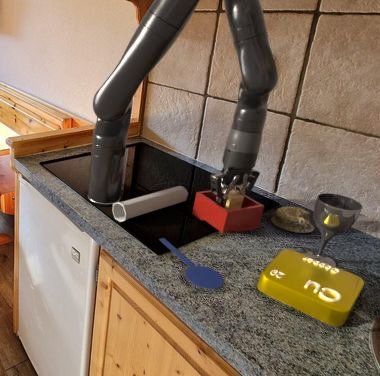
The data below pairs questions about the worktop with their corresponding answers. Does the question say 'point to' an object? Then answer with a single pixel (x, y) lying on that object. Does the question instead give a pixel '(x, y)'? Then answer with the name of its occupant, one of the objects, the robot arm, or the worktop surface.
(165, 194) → the tube
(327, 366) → the worktop surface
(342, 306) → the element tile
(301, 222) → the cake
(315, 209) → the wine glass
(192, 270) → the spoon
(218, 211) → the red open tray
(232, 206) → the block
